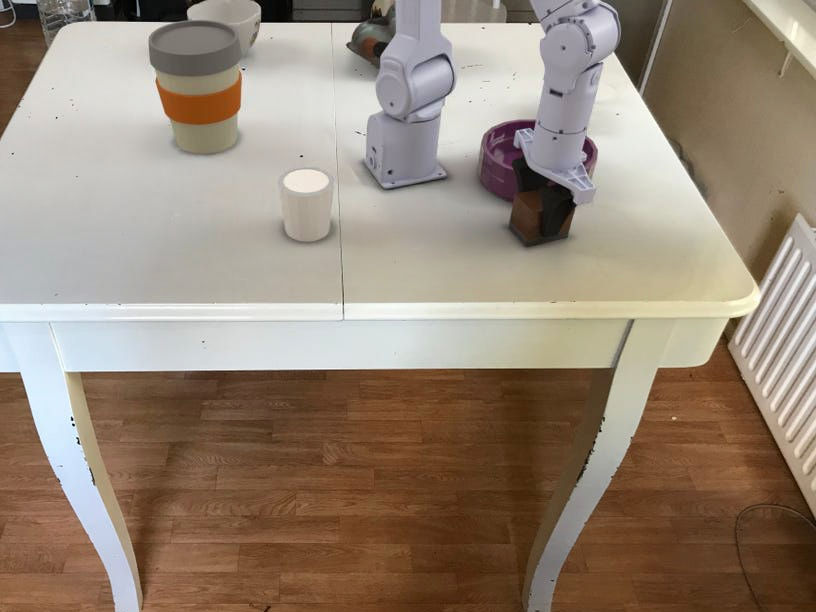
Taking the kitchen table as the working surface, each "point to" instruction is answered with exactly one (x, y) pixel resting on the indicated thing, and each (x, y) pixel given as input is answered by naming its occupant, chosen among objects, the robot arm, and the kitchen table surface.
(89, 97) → the kitchen table surface
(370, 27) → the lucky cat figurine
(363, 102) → the kitchen table surface
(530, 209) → the eraser
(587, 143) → the bowl
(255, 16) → the teacup
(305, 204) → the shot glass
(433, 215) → the kitchen table surface
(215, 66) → the reusable coffee cup
